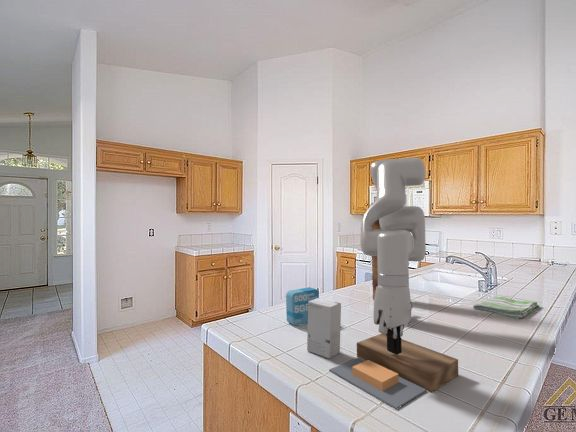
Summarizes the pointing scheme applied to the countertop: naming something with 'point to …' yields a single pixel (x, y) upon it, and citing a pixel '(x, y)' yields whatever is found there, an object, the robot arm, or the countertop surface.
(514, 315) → the dish towel
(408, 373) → the brown wooden block
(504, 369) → the countertop surface
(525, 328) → the countertop surface
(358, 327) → the countertop surface
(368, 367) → the tan foam pad
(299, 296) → the data package
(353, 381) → the mat
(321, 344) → the skincare box
